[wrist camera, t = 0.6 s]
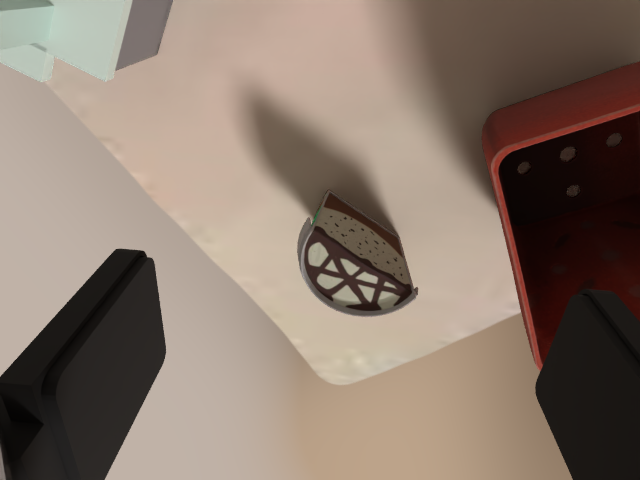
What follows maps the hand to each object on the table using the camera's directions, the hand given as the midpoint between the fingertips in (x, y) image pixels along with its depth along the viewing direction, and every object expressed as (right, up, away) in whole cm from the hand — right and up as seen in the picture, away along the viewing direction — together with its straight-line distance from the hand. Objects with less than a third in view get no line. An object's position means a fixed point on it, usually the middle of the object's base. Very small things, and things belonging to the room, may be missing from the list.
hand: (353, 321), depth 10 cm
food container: (+2, +3, +39) cm, 39 cm away
